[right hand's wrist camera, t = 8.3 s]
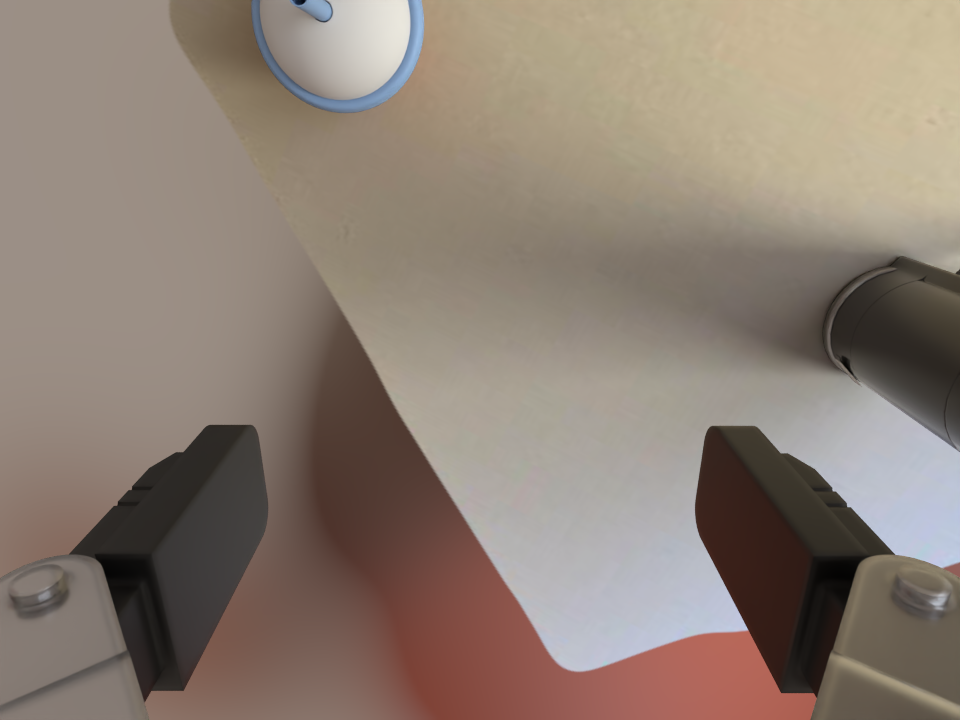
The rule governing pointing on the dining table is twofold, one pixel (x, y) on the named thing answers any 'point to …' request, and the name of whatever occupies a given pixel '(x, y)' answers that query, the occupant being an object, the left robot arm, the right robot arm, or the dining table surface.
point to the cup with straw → (340, 48)
